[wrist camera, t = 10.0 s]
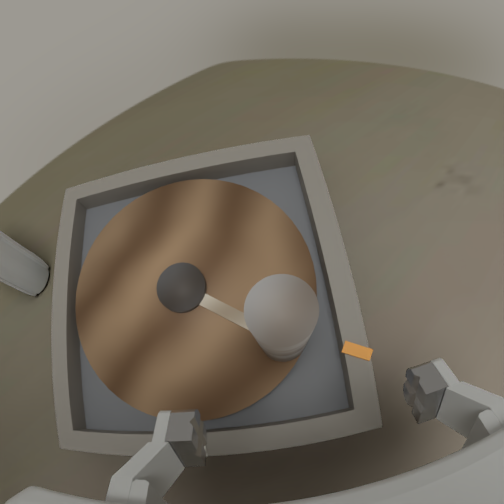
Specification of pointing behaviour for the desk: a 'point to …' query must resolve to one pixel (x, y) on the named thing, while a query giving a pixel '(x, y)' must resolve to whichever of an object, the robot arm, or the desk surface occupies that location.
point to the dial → (196, 299)
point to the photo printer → (21, 267)
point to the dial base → (308, 364)
